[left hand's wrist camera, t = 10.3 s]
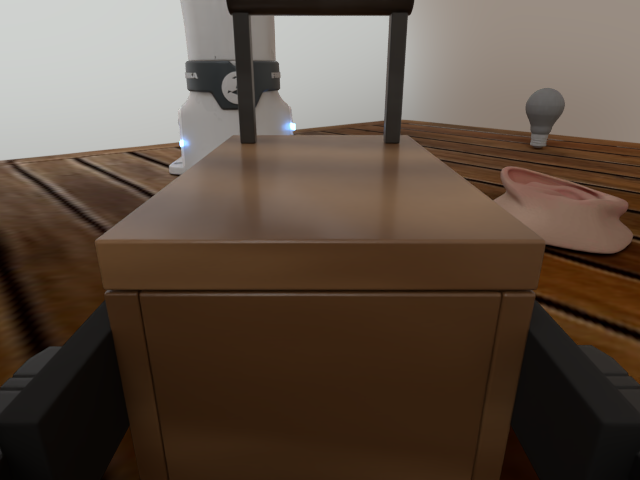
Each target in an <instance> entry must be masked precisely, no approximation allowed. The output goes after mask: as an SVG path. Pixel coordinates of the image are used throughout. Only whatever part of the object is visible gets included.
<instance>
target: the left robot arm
mask: <svg viewBox="0 0 640 480" xmlns="http://www.w3.org/2000/svg"><path fill="white" fill-rule="evenodd" d="M129 425H130V423H129V418H128V412H127V407H126V402H125V397H124V392H123V387H122V382H121V376H120V371H119V366H118V361H117V356H116V351H115V346H114V341H113V335H112V330H111V327H110V322H109V317H108V312H107V307H106V301H104V302H103V303H102V304H101V305H100V306H99V307H98V308H97V309H96V310H95V312H94V313H93V314H92V315H91V316H90V317H89V318H88V319H87V320H86V321H85V322H84V323H83V325H82V326H81V327H80V328H79V329H78V330H77V331H76V332H75V333H74V334H73V335H72V336H71V338H70V339H69V340H68V341H67V342H66V343H65V344H64V345H63V346H62V347H48V348H47V349H45V350H43V351H42V352H40V353H38V354H37V355H35V356H33V357H32V358H30V359H28V360H27V361H26V362H25V363H24V364H23V365H22V366H21V367H20V368H19V369H18V370H17V371H16V372H15V373H14V374H13V378H9V379H8V380H7V381H6V382H5V383H4V384H3V385H2V386H1V387H0V480H101V478H102V476H103V474H104V472H105V471H106V469H107V467H108V465H109V463H110V461H111V459H112V457H113V455H114V454H115V452H116V450H117V448H118V446H119V444H120V442H121V440H122V439H123V437H124V435H125V433H126V431H127V429H128V427H129ZM511 426H512V428H513V430H514V432H515V434H516V436H517V438H518V439H519V441H520V443H521V445H522V447H523V449H524V451H525V453H526V455H527V456H528V458H529V460H530V462H531V464H532V466H533V468H534V470H535V471H536V473H537V475H538V477H539V479H540V480H640V385H639V384H638V383H637V382H636V381H635V380H634V379H633V378H632V377H631V376H628V373H627V372H626V371H625V370H624V369H623V368H622V367H621V366H620V365H619V364H618V363H617V362H616V361H615V360H614V359H613V358H612V357H610V356H608V355H607V354H605V353H603V352H602V351H600V350H598V349H597V348H595V347H593V346H592V345H576V343H575V342H574V341H573V340H572V339H571V338H570V337H569V336H568V335H567V334H566V333H565V332H564V330H563V329H562V328H561V327H560V326H559V325H558V324H557V323H556V322H555V321H554V320H553V319H552V317H551V316H550V315H549V314H548V313H547V312H546V311H545V310H544V309H543V308H542V307H541V306H540V304H539V303H538V302H537V301H536V300H535V301H534V306H533V311H532V316H531V322H530V327H529V331H528V336H527V342H526V347H525V352H524V357H523V362H522V367H521V372H520V377H519V383H518V388H517V393H516V398H515V403H514V408H513V413H512V418H511Z"/></svg>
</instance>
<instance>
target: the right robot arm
mask: <svg viewBox="0 0 640 480" xmlns="http://www.w3.org/2000/svg"><path fill="white" fill-rule="evenodd" d="M180 1H181V7H182V13H183V19H184V26H185V33H186V41H187V50H188V59H189V61H187V62H186V73H185V76H186V78H187V89H188V90H189V91H190V95H189V97H188V100H187V101H186V102H185V103H184V104H183V105H182V107H181V108H180V109H179V111H178V115H179V119H178V123H179V128H180V140H181V141H180V147H181V152H182V157H180V158H179V159H178V160H176V161H175V162H174V163H172V164H171V165H170V166H169V173H171V174H180V175H181V174H183V173H184V172H185V171H187V170H188V169H189V168H191V167H192V166H193V165H194V164H196V163H197V162H198V161H200V160H201V159H202V158H204V157H205V156H206V155H208V154H209V153H210V152H211V151H213V150H214V149H215V148H217V147H218V146H219V145H221V144H222V143H223V142H225V141H226V140H227V139H228V138H230V137H231V136H233V135H240V127H239V111H238V95H237V80H236V64H235V48H234V32H233V16H232V15H230V14H229V11H228V8H227V3H226V0H180ZM251 32H252V52H253V72H254V92H255V112H256V132H257V135H293V130H296V129H295V124H293V123H292V111H291V107H290V106H288V104H287V103H285V102H284V101H283V100H282V99H281V97H280V95H279V93H278V91H277V90H279V89H280V72H279V63H278V62H277V61H275V29H274V16H251Z"/></svg>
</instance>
